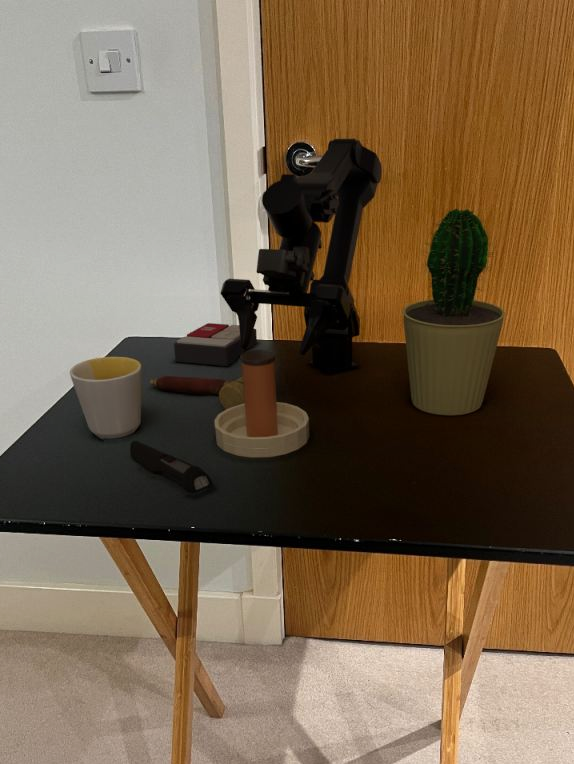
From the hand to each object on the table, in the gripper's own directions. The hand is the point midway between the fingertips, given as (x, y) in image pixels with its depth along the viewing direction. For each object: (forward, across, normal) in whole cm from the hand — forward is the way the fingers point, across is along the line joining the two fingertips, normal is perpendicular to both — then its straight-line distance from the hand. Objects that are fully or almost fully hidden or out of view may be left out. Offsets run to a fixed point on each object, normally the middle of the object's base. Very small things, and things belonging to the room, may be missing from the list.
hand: (272, 351), depth 110 cm
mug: (+14, -22, +4) cm, 27 cm away
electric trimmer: (+22, -8, -5) cm, 24 cm away
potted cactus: (-4, +23, +21) cm, 31 cm away
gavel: (+2, -17, +15) cm, 23 cm away
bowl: (+12, 0, +5) cm, 13 cm away
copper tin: (+12, 0, +4) cm, 12 cm away
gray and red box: (-13, -24, +30) cm, 41 cm away
